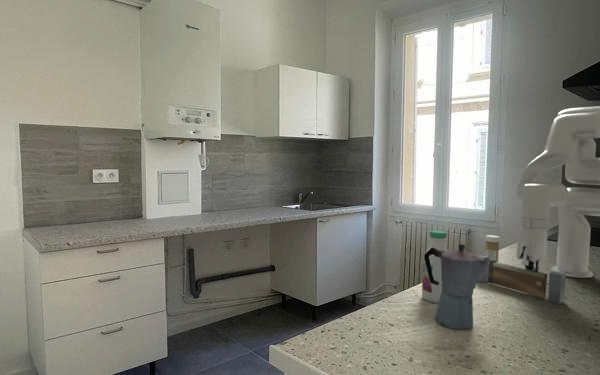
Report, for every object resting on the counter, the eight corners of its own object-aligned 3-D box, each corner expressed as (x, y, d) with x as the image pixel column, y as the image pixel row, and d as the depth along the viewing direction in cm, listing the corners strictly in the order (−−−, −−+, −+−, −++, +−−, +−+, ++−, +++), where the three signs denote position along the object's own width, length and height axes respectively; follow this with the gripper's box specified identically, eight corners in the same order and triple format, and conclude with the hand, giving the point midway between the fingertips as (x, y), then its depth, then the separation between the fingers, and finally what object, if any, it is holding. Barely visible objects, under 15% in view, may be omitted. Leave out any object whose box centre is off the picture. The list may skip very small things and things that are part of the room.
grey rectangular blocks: (479, 279, 135) (480, 255, 135) (564, 302, 114) (565, 273, 113) (474, 280, 134) (475, 256, 133) (559, 304, 112) (561, 275, 112)
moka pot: (483, 337, 90) (487, 251, 89) (415, 322, 99) (418, 243, 97) (488, 323, 98) (492, 244, 97) (425, 310, 107) (428, 237, 105)
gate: (490, 281, 132) (491, 259, 131) (546, 297, 117) (547, 272, 117) (485, 282, 130) (486, 260, 130) (541, 298, 116) (542, 273, 115)
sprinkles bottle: (500, 272, 144) (502, 236, 143) (493, 274, 142) (495, 237, 141) (488, 269, 148) (490, 234, 147) (481, 271, 146) (483, 235, 145)
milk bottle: (449, 296, 118) (452, 230, 116) (450, 305, 110) (453, 234, 109) (422, 293, 120) (424, 228, 119) (421, 301, 113) (423, 232, 112)
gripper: (533, 220, 129) (530, 275, 130) (509, 223, 121) (506, 282, 122) (559, 223, 123) (555, 281, 124) (535, 227, 114) (532, 289, 116)
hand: (531, 281), depth 123 cm, fingers closed
